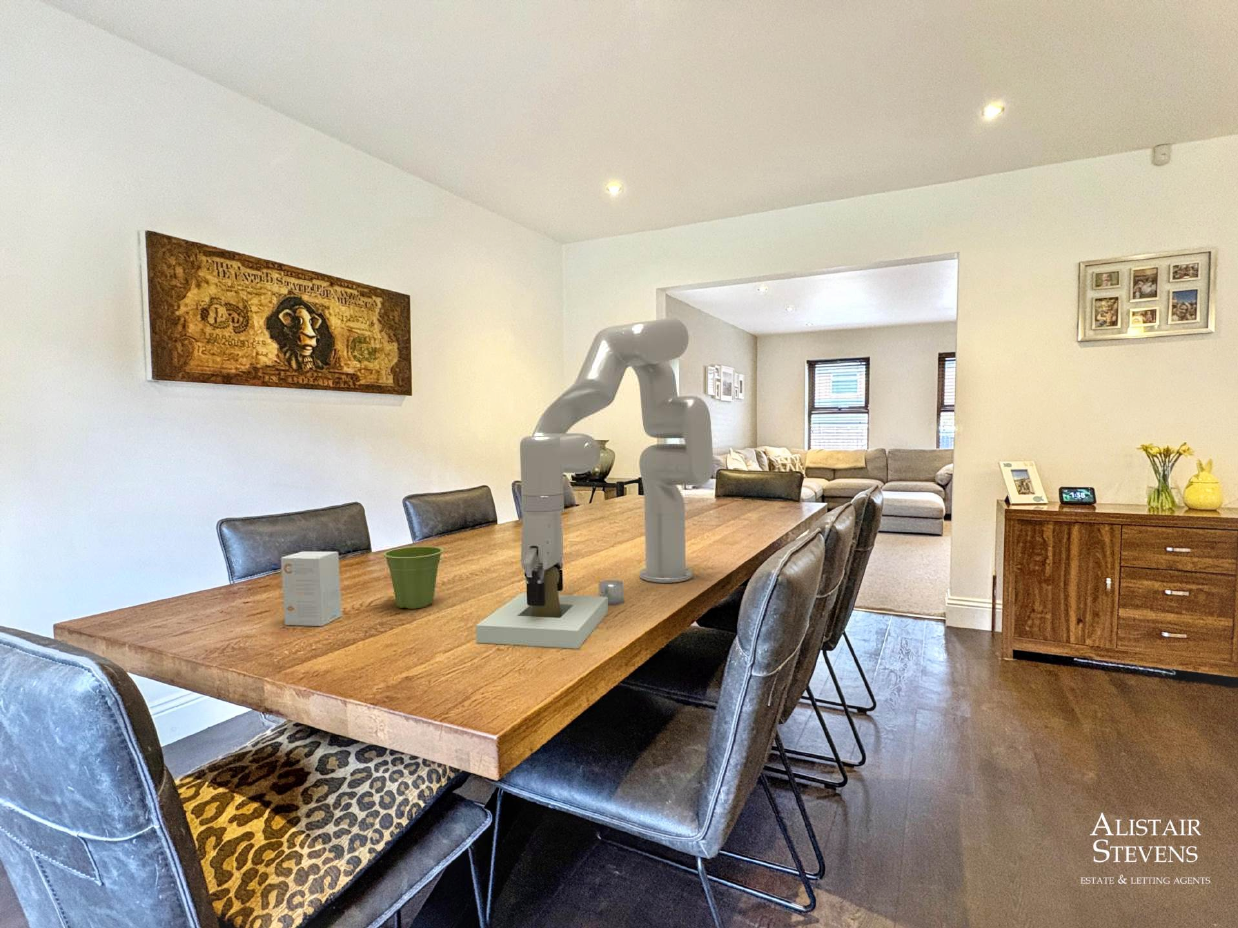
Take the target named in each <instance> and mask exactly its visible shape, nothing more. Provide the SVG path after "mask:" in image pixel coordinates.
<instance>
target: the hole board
mask: <svg viewBox="0 0 1238 928" xmlns="http://www.w3.org/2000/svg"><path fill="white" fill-rule="evenodd" d="M558 596H559V602H560V608H561V615H562V617H561V618H552V617H532V616H531V613H532V606H529V605H527V593H523V592H522V593H519V594H518V595H517V596H515V597H514V598H512V599H511V600H509V601H508V602H506V603H505V604H504V605H503V606H501V607H499V608H498V609H496V610H495V611H493V612H492V613H491V614H489V615H488V616H486V617H485V618H484V619H482V620H481V621H480V622H478V623H477V624H475V636H476V643H479V644H496V645H509V646H511V645H512V646H529V647H539V648H540V647H544V648H557V649H558V648H559V649H563V648H564V649H574V650H576V649H577V650H579V648H580V647H581V646H582V645H583V643H584V642H585V641H586V640H587V639H588V637H589V636H590V635H591V634H592V632H594V630H595V629H596V627H597V626H598V625H599V624H600V622H602V620H603V618H605V617H606V615H607V614H608V613H609V607H608V606H609V605H608V597H599V595H598V596H595V595H594V596H593V595H592V596H591V595H589V596H588V595H572V594H571V595H568V594H558Z"/></svg>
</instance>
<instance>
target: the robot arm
mask: <svg viewBox="0 0 1238 928" xmlns="http://www.w3.org/2000/svg"><path fill="white" fill-rule="evenodd" d="M688 346H689V331H688V329H687V326H686V325H685V324H684V323H683V321H682V320H681V319H679V318H675V317H671V318H661V319H655V320H654V319H653V320H646V321H638V322H632V323H628V324H620V325H619V324H618V325H614V326H608V327H605V328H602V329H601V330H600V331H598V332H597V334H596V335H595V336H594V338H593V340H592V343H591V345H590V348H589V350H588V352H587V354H586V357H585V359H584V361H583V364H582V366H581V367H580V370H579V372H578V375H577V378H576V380H575V381H574V383H573V384H572V385H571V386H570V387H569V388H567V389H566V390H565V391H564V392H563V393H562V394H560V396H558V397H557V399H555V400H554V401H553V402H552V403H550V405H549V406H548V407H547V408H546V409H545V411H544V412H543V413H542V415H541V416H540V418H539V419H538V422H537V424H536V426H535V427H534V430H533V432H532V435H529V436H524V437H523V438H522V439H521V441H519V442H520V444H519V454H520V455H519V457H520V458H519V459H520V460H519V461H520V462H519V463H520V484H521V485H520V486H521V487H520V490H521V492H520V493H521V513H522V514H523V516H522V526H521V542H520V543H521V544H520V545H521V547H520V549H521V550H520V551H521V552H520V554H521V557H520V558H521V559H520V561H521V565H520V566H521V568H522V569H523V570H524V573H523V574H524V577H525V578H524V579H525V585H526V586H525V587H526V594H527V605H529V606H544V605H545V583H542V582H543V577H544V573H545V570H547V569H549V568H550V567H552V566H553V567H555V568H557V569H558V571H559V582H558V583H557V590H558V592H562V591H563V590H564V580H563V579H564V576H563V575H564V574H563V567H564V565H563V564H564V563H563V560H562V559H563V557H564V536H563V535H564V534H563V523H562V516H561V515H562V513H564V512H565V503H564V502H565V500H564V499H565V498H564V496H565V495H564V474H585V473H587V472H588V473H589V472H590V471H592V470H593V469H594V468H595V467H596V466H597V465H598V463H599V461H600V457H601V448H600V444H599V443H598V441H597V440H596V439H594V438H593V437H592V436H591V435H589V434H585V433H580V432H578V433H576V432H575V433H570V432H569V433H568V431H569V430H570V429H571V428H573V426H574V425H576V424H578V423H579V422H580V421H582V420H584V419H586V418H588V417H590V416H592V415H595V414H596V413H598V412H601V410H604V409H606V408H607V407H609V406H610V405H611V404H613V402H614V400H615V398H616V396H617V393H618V391H619V388H620V385H621V383H622V380H623V378H624V375H625V373H626V371H627V369H628V368H630V367H631V368H632V371H634V373H635V375H636V378H637V380H638V381H637V382H638V384H639V396H640V410H641V418H642V419H641V420H642V426H643V430H644V432H645V434H646V435H647V436H649V437H650V438H655V439H684V442H685V443H657V444H652V445H650V446H649V445H648V446H647V447H646V448H645V449H643V451H642V452H641V454H640V456H639V461H638V462H639V472H640V477H641V481H642V487H643V488H642V489H643V498H644V536H645V539H644V541H645V542H644V543H645V545H644V547H645V568H643V569H641V570H640V571H639V578H640V579H642V580H643V581H646V582H652V583H664V584H666V583H667V584H668V583H670V584H671V583H680V582H685V581H688V580H691V579H692V578H693V571H692V569H690V568H687V567H686V565H687V563H686V562H687V560H686V557H687V556H686V555H687V554H686V552H687V551H686V505H685V504H686V503H685V499H684V496H683V495H682V493H681V490H680V489H679V487H678V486H695V487H696V486H703V485H705V484H707V483H708V482H709V481H710V480H711V478H712V476H713V472H714V471H713V470H714V453H713V452H714V451H713V437H712V434H713V433H712V421H711V413H710V410H709V407H708V405H707V403H706V402H705V401H704V399H702V398H700V397H698V396H695V395H694V396H693V395H684V396H679V394H678V390H677V389H678V388H677V379H676V374H675V371H674V370H673V368H672V366H671V364H670V362H668V361H672V360H675V359H678V358H680V357H681V356H683V354H685V352H686V351H687V348H688ZM536 571H539V575H538V574H537V572H536Z"/></svg>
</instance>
